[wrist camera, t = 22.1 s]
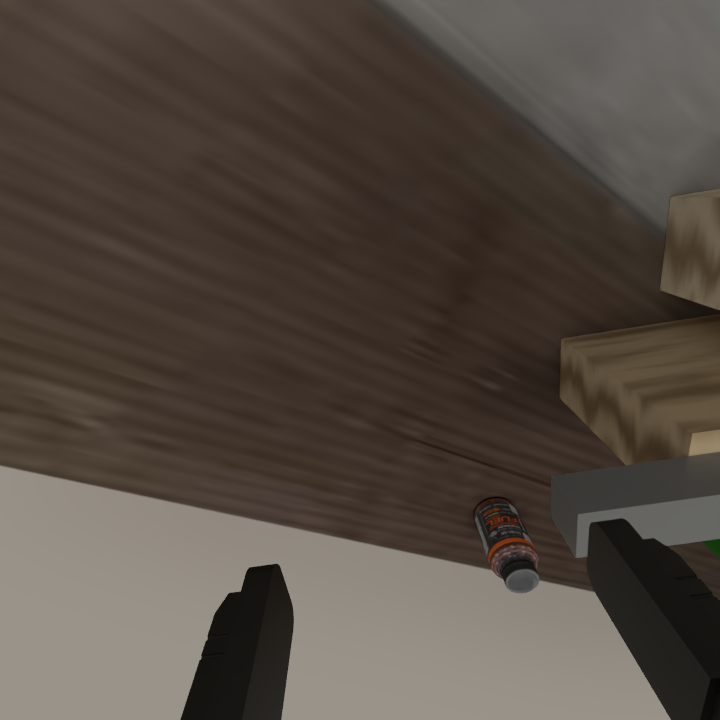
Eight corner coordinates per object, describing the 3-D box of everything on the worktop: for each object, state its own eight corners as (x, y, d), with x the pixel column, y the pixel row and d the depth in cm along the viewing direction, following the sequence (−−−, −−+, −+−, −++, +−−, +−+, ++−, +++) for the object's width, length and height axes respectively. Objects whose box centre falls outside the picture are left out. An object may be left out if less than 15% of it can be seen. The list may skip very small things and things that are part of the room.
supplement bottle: (508, 490, 58) (543, 557, 47) (519, 520, 60) (554, 591, 49) (467, 503, 58) (492, 572, 48) (479, 533, 61) (505, 605, 50)
